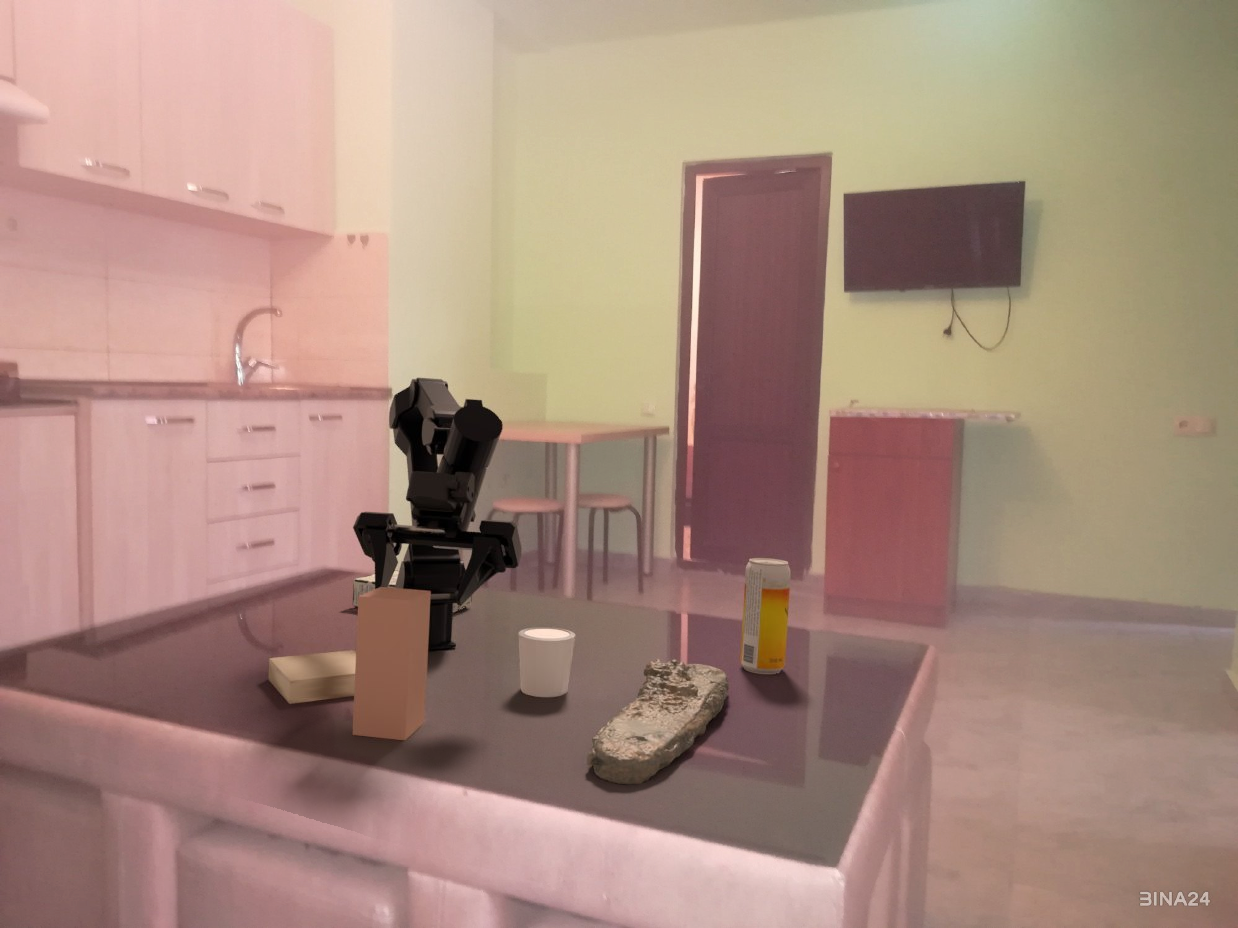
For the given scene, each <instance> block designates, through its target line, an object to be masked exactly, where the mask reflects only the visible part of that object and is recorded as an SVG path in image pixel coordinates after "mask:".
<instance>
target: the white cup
mask: <svg viewBox="0 0 1238 928" xmlns="http://www.w3.org/2000/svg"><path fill="white" fill-rule="evenodd" d="M575 641H576V634H575V633H574V632H573V631H570V630H568V629H565V628H560V627H559V628H558V627H545V626H544V627H538V626H537V627H530V628H529V627H528V628H524V629H521V630H520V631H519V632H518V655H519V658H518V659H519V677H520V690H521V691H520V692H522V693H523V694H525V695H527V696H533V697H536V698H537V697H538V698H555V697H561V696H564V695H566V694H567V692H568V689H569V683H570V674H571V669H572V663H573V662H572V661H573V654H574V647H575Z"/></svg>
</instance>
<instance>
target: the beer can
mask: <svg viewBox="0 0 1238 928" xmlns="http://www.w3.org/2000/svg"><path fill="white" fill-rule="evenodd" d="M791 572H792V570H791V568H790V565H789V562H788V561H786V560H783V559H777V558H770V557H769V558H767V557H766V558H765V557H753V558H749V561H748V562H747V564H746V566H745V573H744V575H745V576H744V589H743V591H744V593H743V609H742V621H741V622H742V624H741V625H742V626H741V637H740V638H741V643H740V656H739V657H740V658H739V662H740V664H741V665H742V666H743V669H744V670H745V671H747V672H750V673H753V674H758V675H777V674H779V673H781V670H782V669H783V668H784V667H786V651H787V635H788V624H789V623H788V622H789V621H788V619H789V605H790V604H789V602H790V591H791V589H790V588H791V574H792V573H791ZM776 673H777V674H776Z"/></svg>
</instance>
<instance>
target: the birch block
mask: <svg viewBox="0 0 1238 928" xmlns="http://www.w3.org/2000/svg"><path fill="white" fill-rule="evenodd" d="M355 666H356V650H353V649H350V650H339V651H338V650H337V651H332V652H331V651H329V652H319V653H309V654H308V653H307V654H301V655H300V654H298V655H291V656H290V655H287V656H278V657H269V659H268V681H269V682H270V683H271V684H272V685H273V687H274V688H275V689H276V690H277V692H278V693H280V695H281V696H282V697H283V698H284V699H285V700H286V702H287V703H288V705H289V704H290V705H292V704H299V703H300V704H301V703H307V702H314V701H316V702H317V701H321V700H331V699H338V698H339V699H340V698H347V697H354V690H355Z"/></svg>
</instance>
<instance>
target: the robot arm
mask: <svg viewBox="0 0 1238 928" xmlns="http://www.w3.org/2000/svg"><path fill="white" fill-rule="evenodd" d="M388 425H389V429H391V430H392V431H393V440H394V441H393V442H394V444H395V446H397V448H398V449H399V450H400V451H401V452H402V453H403V454H404V455H405V457H406V466H407V478H408V479H407V480H408V486H407V491H406V497H405V500H406V501H407V502H410V503H409V505H410V515H411V525H407V524H406V525H405V524H398V523H397V520H396V517H395V515H394V513H393V512H391V513H390V512H379V511H378V512H377V511H362V512H360V513H359V514H358V516H357V517H356V519H355V522H354V524H353V526H352V529H353V531H354V533H355V536H356V538H357V540H358V543H359V545H360V547H361V549H362V552H363V554H364V556H367V557H368V558H371V560H372V561H373V562H374V574H375V589H377V588H379V587H388V585H389V583H390V580H391V578H392V576H393V573H394V571H395V570H396V568H397V566H398V564H399V560H398V557H397V556H399V555H400V553H401V550H402V547H403V546H402V545H403V544H404V545H408V546H407V548H406V552H405V555H404V556H403V560H401V563H400V567H399V569H398V571H399V574H398V577H397V581H396V588H401V589H413V590H425V591H431V596H430V618H429V639H428V651H432V650H441V649H443V650H444V649H450V648H451V649H452V648H456V647H457V643H456V642H454V641H453V640H452V635H453V616H454V615H453V614H454V613H453V603H457V604H458V605H462V604H463V603H464V602H465V601H466V600H467V599H468V598H469V597H470V596H471V595H472V596H473V595H474V593H476V591H478V590H479V589H480V587H481V586H483V585H484V584H485V583H486V582H488V581H489V580H490V579H492V578H493V577H494V576H496V575H497V574H499V573H505V572H506V571H507V569H515V568H517V567H519V566H520V561H521V558H522V544H521V539H520V535H519V530H518V527H517V525H516V524H515V522H514V521H512V520H496V519H483V520H482V519H481V521H480V524H479V527H478V530H479V531H478V532H477V531H469V528H470V524H471V522H473V523H475V519H476V515H477V514H476V510H475V509H476V505H477V501H478V498H479V495H480V492H481V489H482V486H483V483H484V479H485V477H486V472H487V468H488V467H489V466H490V463H491V461H492V458H493V455H494V453H495V451H496V449H497V445H498V443H499V439H500V437H501V435H502V432H503V420H502V419H501V418H500V417H499V415H497V413H496V412H494V411H493V410H491V409H489V407H488V408H487V406H486V407H485V406H484V405H483V400H482V399H473V398H472V399H471V398H470V399H469V398H465V400H464V403H463V406H460V405H459V403H458V402H457V400H456V399H455V397H454V395H452V393H451V392H450V391H449V385H448V381H446V380H443V379H442V378H430V377H429V378H427V377H416V378H412V379H411V381H410V383H409V386H408V387H405V388H404V389H402V390H401V391H399V392H397V393H395V394H394V395H393V398H392V401H391V405H390V407H389V412H388ZM438 455H441V456H442V457H441V459H440V461H439V462H438ZM460 550H462V551H471V555H470V558H469V560H468V562H467V565H466V567H465V563H464V560H461V559H462V558H461V555H460Z"/></svg>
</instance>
